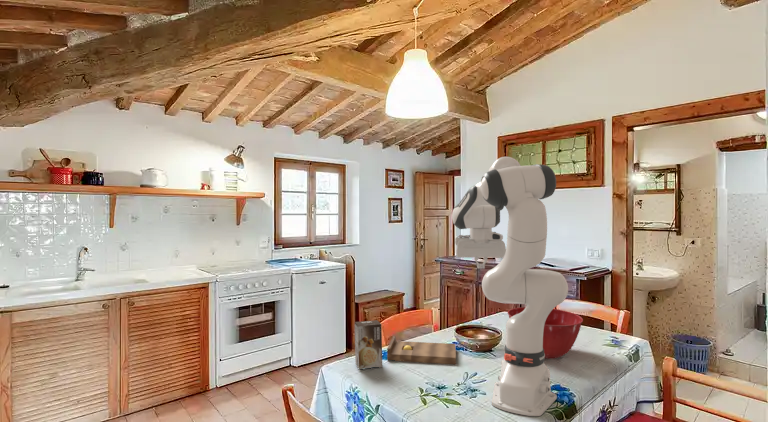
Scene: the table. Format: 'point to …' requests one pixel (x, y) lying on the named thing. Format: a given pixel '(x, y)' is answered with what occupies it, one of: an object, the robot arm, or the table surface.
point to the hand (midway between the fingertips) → (480, 268)
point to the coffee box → (368, 344)
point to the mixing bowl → (557, 331)
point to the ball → (407, 347)
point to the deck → (422, 352)
